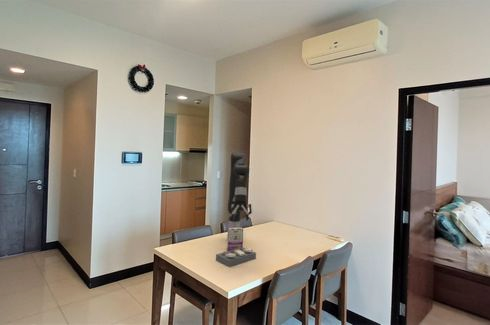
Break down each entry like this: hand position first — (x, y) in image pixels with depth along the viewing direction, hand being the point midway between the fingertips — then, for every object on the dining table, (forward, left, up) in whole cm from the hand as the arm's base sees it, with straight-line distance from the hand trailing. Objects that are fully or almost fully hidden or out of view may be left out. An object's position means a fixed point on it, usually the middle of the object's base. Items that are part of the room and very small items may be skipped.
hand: (240, 220), depth 171 cm
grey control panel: (-12, +9, -30) cm, 33 cm away
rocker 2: (-9, +9, -25) cm, 28 cm away
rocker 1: (-9, +1, -25) cm, 26 cm away
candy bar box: (-27, +21, -30) cm, 45 cm away
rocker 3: (-9, +17, -25) cm, 31 cm away
